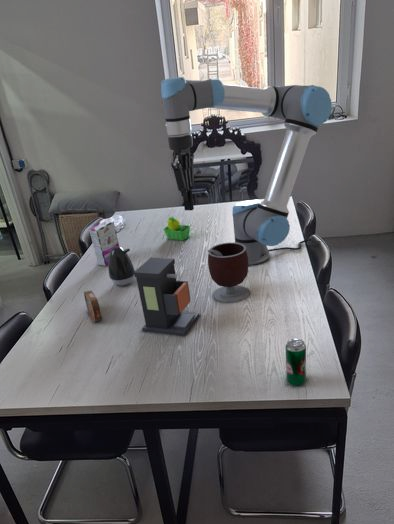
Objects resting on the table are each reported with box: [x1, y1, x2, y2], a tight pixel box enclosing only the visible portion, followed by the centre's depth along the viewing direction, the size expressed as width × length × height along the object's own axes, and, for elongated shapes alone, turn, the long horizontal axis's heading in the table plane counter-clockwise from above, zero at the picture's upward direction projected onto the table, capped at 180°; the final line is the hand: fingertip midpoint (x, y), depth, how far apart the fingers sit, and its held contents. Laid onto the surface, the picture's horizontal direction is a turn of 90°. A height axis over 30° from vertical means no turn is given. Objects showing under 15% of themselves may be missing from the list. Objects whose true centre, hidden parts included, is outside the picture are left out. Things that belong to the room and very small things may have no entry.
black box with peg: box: [134, 257, 200, 336], centre depth 156 cm, size 15×13×21 cm
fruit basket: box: [162, 216, 191, 242], centre depth 227 cm, size 11×9×11 cm
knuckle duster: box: [98, 215, 127, 233], centre depth 254 cm, size 3×18×15 cm
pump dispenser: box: [107, 246, 136, 287], centre depth 190 cm, size 10×10×15 cm
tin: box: [83, 290, 102, 323], centre depth 171 cm, size 15×3×8 cm, turn 23°
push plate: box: [174, 283, 191, 314], centre depth 154 cm, size 1×8×7 cm, turn 157°
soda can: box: [285, 337, 307, 387], centre depth 124 cm, size 5×5×12 cm
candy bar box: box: [88, 221, 120, 267], centre depth 211 cm, size 11×5×16 cm, turn 148°
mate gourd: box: [207, 242, 249, 304], centre depth 168 cm, size 16×14×20 cm
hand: (189, 209), depth 163 cm, fingers closed
